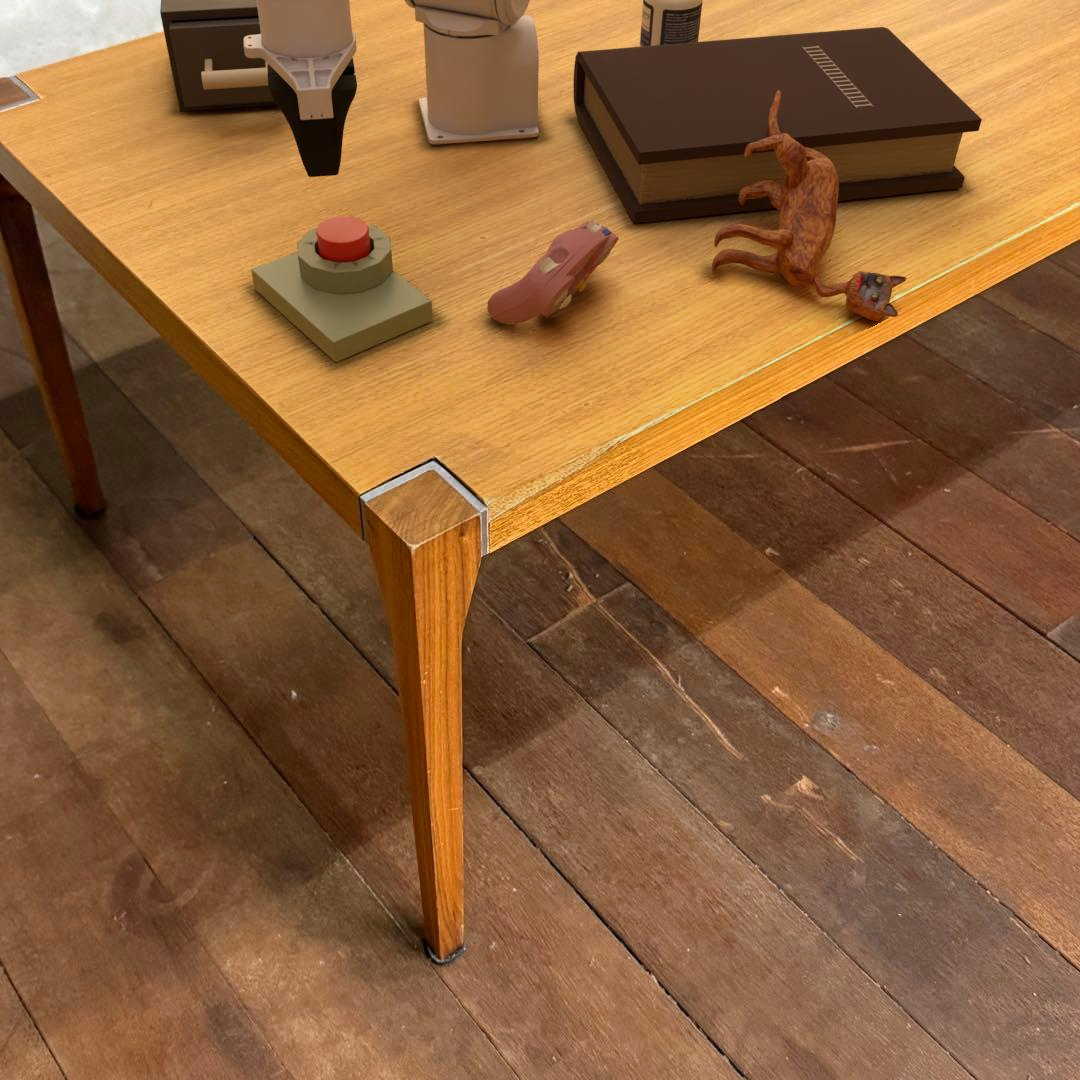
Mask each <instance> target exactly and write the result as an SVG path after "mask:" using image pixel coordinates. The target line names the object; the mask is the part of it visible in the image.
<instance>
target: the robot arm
mask: <svg viewBox="0 0 1080 1080" xmlns="http://www.w3.org/2000/svg"><path fill="white" fill-rule="evenodd" d="M530 1H531V0H404V2H405V3H406V5H407V6H408V7H409V8H412V9H414V17H415V18H414V19H415V22H419V23H422V25H423V40H424V41H423V42H424V57H425V59H424V61H425V82H426V97H420V98H419V99H418V106H419V109H420V112H421V118H422V122H423V125H424V129H425V133H426V137H427V141H428V143H429V144H431V145H446V144H458V143H473V142H486V141H487V142H489V141H500V140H502V141H503V140H515V139H527V138H529V139H530V138H536V137H538V136H539V135H540V131H539V127H538V120H539V119H538V118H539V114H538V113H539V72H540V71H539V63H540V62H539V61H540V60H539V59H540V57H539V44H538V41H539V40H538V33H537V28H536V24H535V20H534V17H533V16H532V15H530V14H526V12H527V9H528V7H529V4H530ZM256 2H257V9H258V16H259V23H260V31H261V34H257V35H248V36H245V37H244V39H243V42H244V52H245V56H246V57H248V58H262V59H264V60H265V61H266V62H267V63H268V65H267V70H268V88H269V93H270V95H271V97H272V99H273V101H274V102H275V103H276V105H275V106H277V107H278V109H279V110H280V112H281V113H282V114H283V116H284V118H285V119H286V122H287V123H288V125H289V127H290V130H291V132H292V136H293V138H294V141H295V144H296V148H297V151H298V153H299V156H300V159H301V162H302V166H303V167H304V170H305V172H306V174H307V176H308V177H309V178H316V177H330V176H331V177H332V176H337V175H339V172H340V169H341V160H342V153H343V140H344V139H343V138H344V131H345V125H346V120H347V116H348V113H349V111H350V108H351V105H352V103H353V101H354V99H355V96H356V94H357V90H358V81H357V76H356V74H355V73H356V69H355V63H354V58H353V57H354V56H355V54H356V52H357V49H358V48H357V47H358V45H357V36H356V33H355V32H354V31H353V27H352V16H351V3H350V0H256Z"/></svg>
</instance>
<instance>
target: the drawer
mask: <svg viewBox="0 0 1080 1080" xmlns="http://www.w3.org/2000/svg"><path fill="white" fill-rule="evenodd" d="M169 30H170V35H171V40H172V45H173V50H174V55H175V60H176V65H177V70H178V75H179V80H180V85H181V90H182V95H183V101H184V106H185V107H194V106H210V105H225V104H240V103H255V102H270V101H273V99H272V97H271V95H270V93H269V88H268V70H267V65H268V63H267V62H266V61H265V60H264V59H262V58H248V57H246V56H245V52H244V42H243V39H244V37H245V36H248V35H257V34H261V31H260V23H259V16H252V17H234V18H216V19H198V20H180V23H170V27H169Z"/></svg>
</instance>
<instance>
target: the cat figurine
mask: <svg viewBox="0 0 1080 1080" xmlns="http://www.w3.org/2000/svg"><path fill="white" fill-rule="evenodd" d="M781 95H782V94H781V91H777V92H776V94H775V97H774V100H773V103H772V105H771V108H770V111H769V115H768V120H767V130H768V135H769V137H768V138H765V139H762V140H760V141H757V142H752V143H750V144H748V145H747V147H746V149H745V153H744V157H745V158H748V157H750V155H751V153H752V152H753V151H763V150H768V149H773V150H775V153H776V155H777V158H778V161H779V163H780V164H781V165H782V167H783V168H784V169H785V171H786V173H787V175H786V177H785V179H784V182H783V184H782V187H781V186H780V184H779V183H778V182H777V181H774V180H765V181H759V182H756V183H754V184H752V185H750V186H747V187H744V188H742V189H741V191H740V194H739V203H740V204H741V205H743V204H744V202H745V201H746V199H756V198H761V197H765V196H768V197H769V199H770V201H771V203H772V205H773V206H774V207H775V208H774V209H776V210H777V211H779V219H778V220H779V221H778V229H775V230H766V229H762V228H759V227H756V226H752V225H748V224H742V223H729V224H725V225H723V226H722V227H721V228H720V229H719V230H718V231H717V233H716V234H715V237H714V248H717V247H718V245H719V244H720V242H722V241H723V240H726V239H732V238H744V239H748V240H750V241H753V242H755V243H758V244H760V245H764V246H768V247H772V248H775V249H777V250H776V251H777V253H774V254H770V255H767V254H766V255H761V254H758V253H755V252H751V251H747V250H743V249H737V248H724V249H723V250H720V251H719V252H718V253H717V254H716V255H715V256H714V258H713V259H712V265H711V273H712V274H715V272H716V270H717V269H718V268H719V267H720V266H726V265H732V264H738V265H739V264H740V265H742V266H743V265H744V266H746V267H748V268H750V269H752V270H755V271H758V272H762V273H765V274H772V275H781V274H782V275H783V277H784V278H785V280H786V281H787V282H788V283H789V284H790V285H792V286H793V287H797V288H804V287H809V286H810V287H813V288H814V289H815V291H816V293H817V295H818V296H819V297H820V298H825V299H826V298H831V297H834V296H837V295H841V294H844V295H845V296H846V297H845V306H846V309H847V310H848V311H849V312H850V313H853V314H856V315H859V316H861V317H863V318H865V319H868V320H870V321H873V322H879V320H881V318H883V317H884V316H888V317H891V318H897V317H898V316H899V313H898V311H897V309H896V308H895V307H894V306H893V304H892V303H891V298H892V292H893V289H895V288H896V287H897V286H899V285H901V284H903V283H905V282H906V281H907V277H905V276H903V275H888V274H887V275H886V274H882V273H879V272H870V271H863V270H859V271H857V272H856V273H854V275H853V276H852V277H850V280H848V281H846V282H836V283H830V284H823V282H822V279H821V278H820V274H819V269H818V263H820V261H821V259H823V257H824V256H825V255H826V254H827V252H828V250H829V248H830V246H831V244H832V240H833V237H834V233H835V230H836V221H837V212H838V202H839V201H838V192H839V181H838V175H837V172H836V169H835V167H834V165H833V163H832V161H831V160H830V159H829V158H827V157H826V156H825V155H823V154H822V153H820V152H818V151H816V150H814V149H810V148H807V147H804V146H803V145H801V144H800V143H799V142H797V141H796V140H794V139H793V138H792V137H791V136H790V135H789V134H787V133H781V132H780V130H779V127H778V120H777V115H778V110H779V107H780V102H781Z"/></svg>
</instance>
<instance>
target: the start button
mask: <svg viewBox="0 0 1080 1080" xmlns="http://www.w3.org/2000/svg"><path fill="white" fill-rule="evenodd" d="M367 224H368V223H367V222H366V221H364V219H362V218H358V217H357V216H353V215H338V216H333V217H330V218H326V219H325V220H323V221H322V222H320V223H319V224H318V226H317V227H316V228H317V231H316V232H317V240H318V248H319V254H320V256H321V257H322V258H323V259H324V260H329V261H333V262H337V263H342V262H354V261H357V260H359V259H362V258H364V257H367V256H368V255H369V253H370V238H369V228H368V225H369V224H368V225H367Z"/></svg>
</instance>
